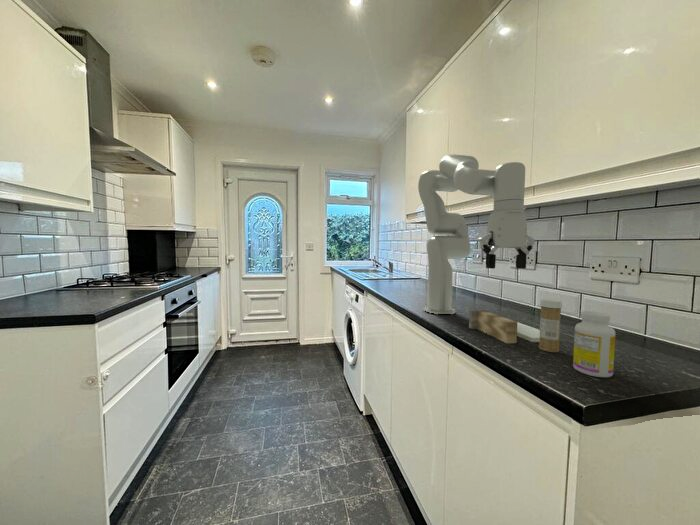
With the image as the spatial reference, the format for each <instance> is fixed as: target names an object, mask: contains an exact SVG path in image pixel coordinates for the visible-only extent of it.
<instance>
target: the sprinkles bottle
mask: <svg viewBox="0 0 700 525" xmlns="http://www.w3.org/2000/svg"><path fill="white" fill-rule="evenodd" d="M539 305H540V320H539V330H540V335H539V336H540V341H539V342H538V343H539V344H538V349H540V350H542V351H545V352H548V353H559V352H560V338H561V317H562V316H561V313H562V312H561V310H562V308H563V301H562V300H560V299H556V298H541V299H540V304H539Z"/></svg>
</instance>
